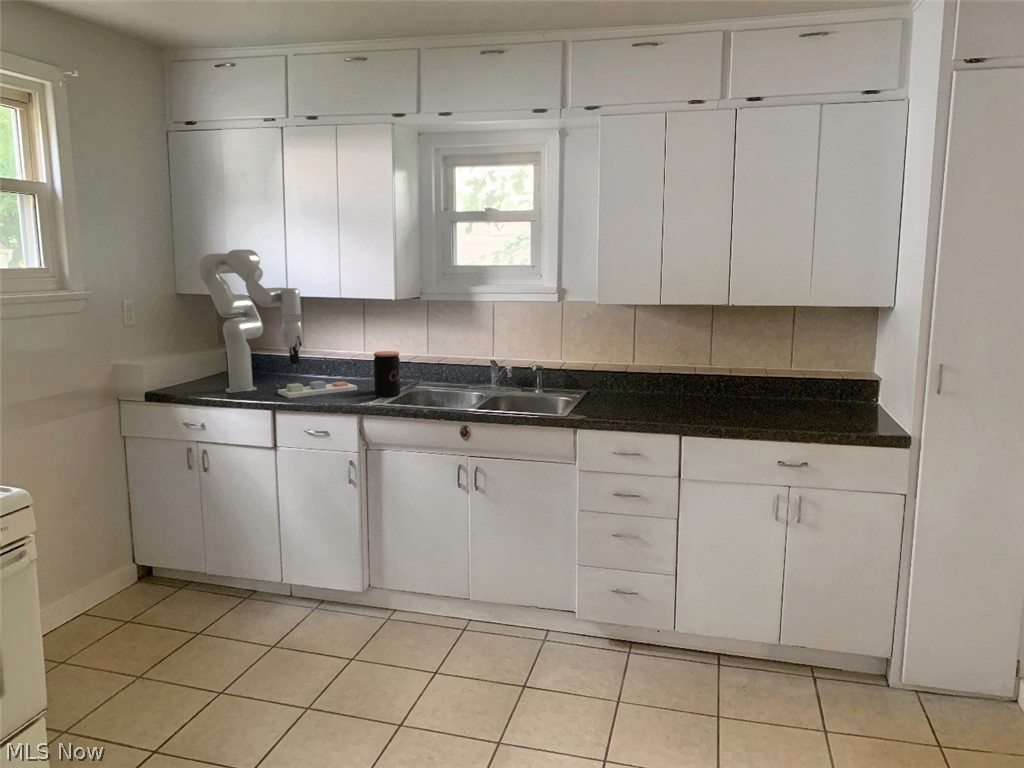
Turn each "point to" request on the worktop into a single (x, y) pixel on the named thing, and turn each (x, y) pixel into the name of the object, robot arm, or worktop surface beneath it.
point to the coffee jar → (387, 373)
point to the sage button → (294, 387)
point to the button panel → (309, 391)
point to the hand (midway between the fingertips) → (294, 363)
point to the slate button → (317, 385)
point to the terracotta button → (339, 384)
